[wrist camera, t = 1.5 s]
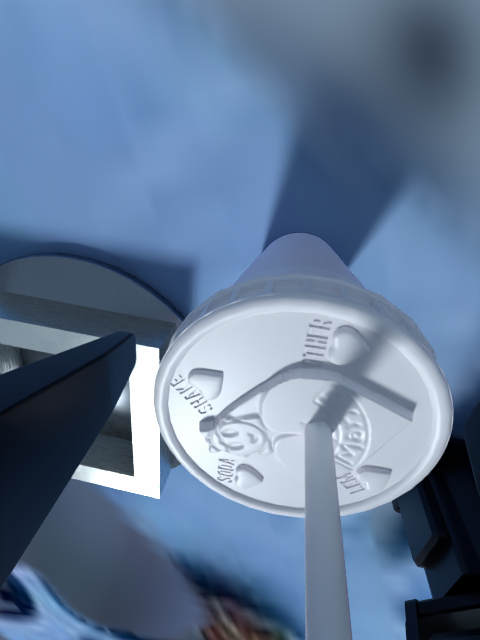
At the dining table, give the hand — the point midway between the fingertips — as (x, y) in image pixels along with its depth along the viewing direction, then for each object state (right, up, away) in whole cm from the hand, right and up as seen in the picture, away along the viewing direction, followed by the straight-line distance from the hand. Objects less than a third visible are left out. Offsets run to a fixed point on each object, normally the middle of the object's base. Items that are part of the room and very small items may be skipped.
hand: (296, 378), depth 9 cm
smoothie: (+1, +4, +7) cm, 8 cm away
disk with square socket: (-11, -2, +12) cm, 16 cm away
